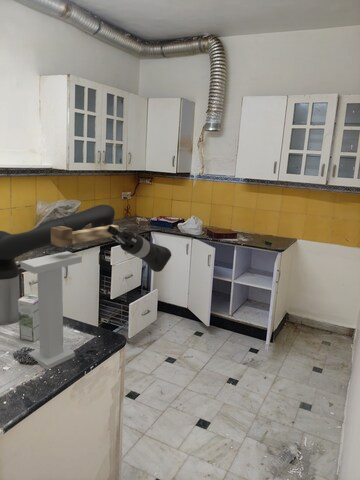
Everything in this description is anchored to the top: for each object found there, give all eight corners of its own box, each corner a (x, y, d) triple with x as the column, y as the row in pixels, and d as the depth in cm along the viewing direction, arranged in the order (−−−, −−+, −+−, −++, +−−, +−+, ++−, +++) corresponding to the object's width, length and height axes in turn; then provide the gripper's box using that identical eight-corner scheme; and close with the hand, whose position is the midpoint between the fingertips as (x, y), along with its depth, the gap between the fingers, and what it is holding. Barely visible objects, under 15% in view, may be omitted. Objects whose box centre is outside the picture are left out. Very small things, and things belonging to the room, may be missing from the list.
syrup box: (44, 334, 133) (43, 295, 129) (33, 342, 127) (32, 302, 124) (30, 331, 134) (28, 293, 131) (19, 339, 129) (17, 299, 125)
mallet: (110, 232, 133) (111, 218, 131) (120, 235, 130) (121, 220, 129) (50, 243, 114) (50, 227, 113) (61, 247, 111) (61, 230, 110)
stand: (66, 341, 129) (64, 250, 122) (85, 351, 124) (84, 257, 116) (22, 359, 117) (17, 260, 109) (41, 372, 111) (37, 268, 104)
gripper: (145, 258, 136) (115, 241, 122) (118, 250, 144) (86, 233, 130) (153, 239, 137) (124, 220, 123) (125, 232, 145) (95, 213, 131)
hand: (105, 227), depth 127 cm, fingers closed on mallet, 3 cm apart
